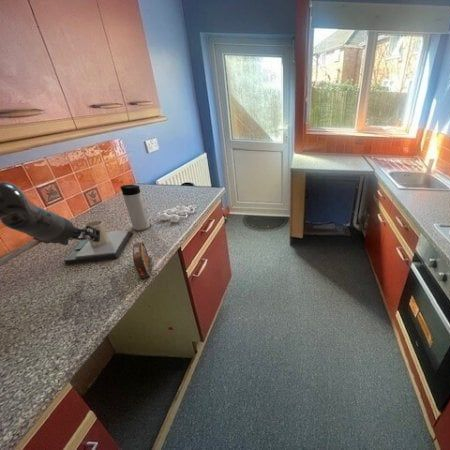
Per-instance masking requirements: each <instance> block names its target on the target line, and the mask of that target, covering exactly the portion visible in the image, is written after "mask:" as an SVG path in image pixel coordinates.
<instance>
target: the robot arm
mask: <svg viewBox="0 0 450 450" xmlns="http://www.w3.org/2000/svg"><path fill="white" fill-rule="evenodd" d="M0 222H1V223H2V224H3V226H5V227H6V228H9V229H11V230H14V231H17V232H20V233H23V234H25V235H28V236H29V237H32V238H33V240H35V241H37V242H40V243H42V244H46V245H48V244H60V245H62V246H68V245H69V241H73V240H75V241H82V240H85V239H89V240H92V241H94V242H99V241H100V230H97V229H95V228H93V227H91V226H86V229H84V228H81V227H76V226H75V224H74V223H73V222H72V221H71V220H70V219H67V218H66V217H63V216H61V215H60V214H57V213H55V212H54V211H51V210H48V209H45V208H43V207H41V206H39V205H36V204H35V203H34V202H33V201H31V200H30V198H29V197H27V195H26V193H24V191H23V190H22V189H21V188H20V187H19V186H18V185H16V184H14V183H12V182H8V181H0ZM87 236H90V237H87Z"/></svg>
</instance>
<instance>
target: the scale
mask: <svg viewBox="0 0 450 450" xmlns="http://www.w3.org/2000/svg"><path fill="white" fill-rule="evenodd" d="M107 234H108V237H109V240H110V241H109V243H107V244H105V245H103V246H98V247H93V246H91V244H90V242H89V240H88V239H85V240H80V242H79V243H78V244H77V246H76V247H75V248H74V249H73V250H72V251H71V252H70V253H69V255H67V256H66V258H64V260H63V262H64V263H65V265H72V264H80V263H90V262H91V263H92V262H99V261H108V260H116V259H118V258H119V256H120V254H121V253H122V251H123V249H124V248H125V246H126V244H127V243H128V241H129V240H130V237H131V236H132V234H133V233H132V231H131V230H128V229H127V230H117V231H115V230H114V231H107Z"/></svg>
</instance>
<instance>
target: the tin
mask: <svg viewBox="0 0 450 450" xmlns="http://www.w3.org/2000/svg"><path fill="white" fill-rule="evenodd" d="M144 243H145V242H144V241H140V242H137V243H134V244H133V246H132V259H133V264H134V267H135V270H136V271H137V274H138V276H139V278H140V279H144V278H148V277H151V275H150V274H149V260H150V258H149V257H150V256H149V253H148V251H147V248H146V246H145V244H144Z"/></svg>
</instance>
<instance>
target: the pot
mask: <svg viewBox="0 0 450 450" xmlns="http://www.w3.org/2000/svg"><path fill="white" fill-rule="evenodd" d="M86 226H91V227H93V228H95V229H97V230H100V241H99V242H94V241H92V240H89V239H88V240H89V242H90V244H91V246H93V247H98V246H103V245H105V244H107V243H109V241H110V240H109V237H108V234H107V232H108V231H107V228H106V226H105V223H104V221H103V220H100V219H97V220H94V219H93V220H90V221H87V222H85V223H83V224H82V227H83V228H82V229H86ZM87 237H90V236H87Z"/></svg>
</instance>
